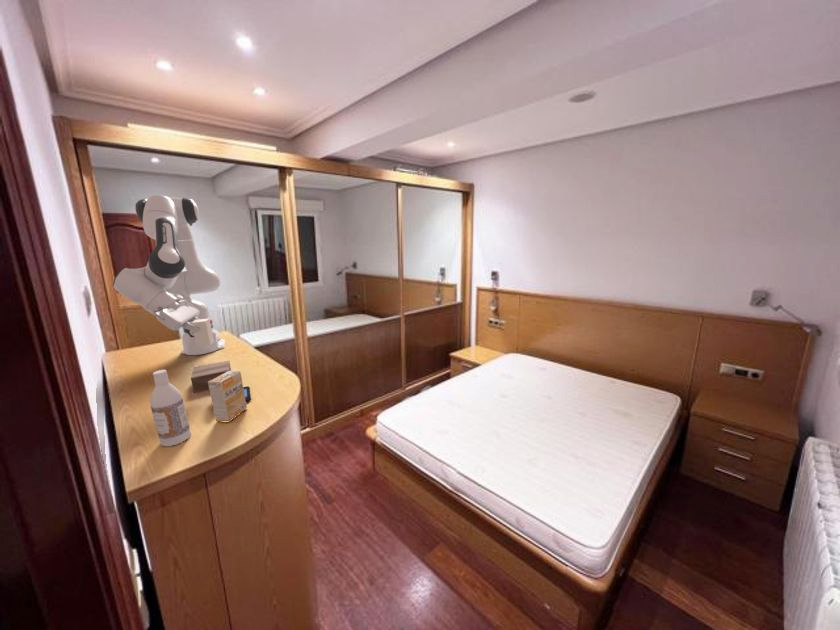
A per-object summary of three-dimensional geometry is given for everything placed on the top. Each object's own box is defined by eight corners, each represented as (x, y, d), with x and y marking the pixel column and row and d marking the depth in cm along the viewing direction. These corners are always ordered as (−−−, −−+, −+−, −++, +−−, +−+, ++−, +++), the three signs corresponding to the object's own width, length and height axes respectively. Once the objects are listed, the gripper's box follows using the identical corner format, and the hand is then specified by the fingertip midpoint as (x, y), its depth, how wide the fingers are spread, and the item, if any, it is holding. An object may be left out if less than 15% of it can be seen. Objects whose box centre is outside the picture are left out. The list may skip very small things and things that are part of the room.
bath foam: (154, 446, 92) (135, 377, 87) (175, 431, 99) (159, 366, 94) (176, 448, 91) (159, 377, 86) (197, 433, 97) (181, 366, 93)
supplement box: (229, 423, 102) (221, 382, 99) (215, 422, 103) (206, 381, 100) (248, 409, 110) (241, 370, 106) (235, 408, 110) (227, 370, 107)
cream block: (200, 343, 129) (195, 319, 127) (214, 341, 130) (209, 318, 128) (196, 346, 125) (191, 322, 122) (210, 345, 126) (205, 321, 124)
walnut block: (197, 381, 134) (193, 367, 132) (231, 374, 139) (229, 360, 138) (194, 393, 123) (190, 378, 122) (232, 385, 129) (229, 370, 127)
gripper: (156, 304, 111) (197, 329, 116) (181, 293, 130) (214, 316, 135) (144, 319, 111) (184, 343, 116) (170, 306, 130) (204, 328, 135)
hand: (201, 328), depth 126 cm, fingers closed on cream block, 4 cm apart
